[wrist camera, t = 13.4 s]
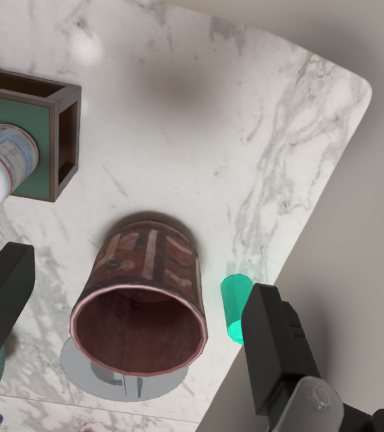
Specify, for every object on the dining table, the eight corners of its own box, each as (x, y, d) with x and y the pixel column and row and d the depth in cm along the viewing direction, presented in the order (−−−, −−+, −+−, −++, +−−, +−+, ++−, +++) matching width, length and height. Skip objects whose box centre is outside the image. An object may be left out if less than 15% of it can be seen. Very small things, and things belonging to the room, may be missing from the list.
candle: (248, 299, 64) (260, 353, 53) (217, 296, 63) (224, 350, 53) (256, 276, 61) (271, 328, 50) (224, 272, 60) (233, 324, 50)
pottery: (101, 286, 61) (74, 376, 46) (97, 203, 52) (61, 280, 37) (196, 291, 62) (201, 380, 47) (207, 211, 53) (217, 289, 38)
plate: (184, 401, 81) (184, 406, 80) (69, 399, 79) (67, 405, 78) (192, 322, 67) (192, 327, 65) (51, 318, 65) (49, 323, 64)
